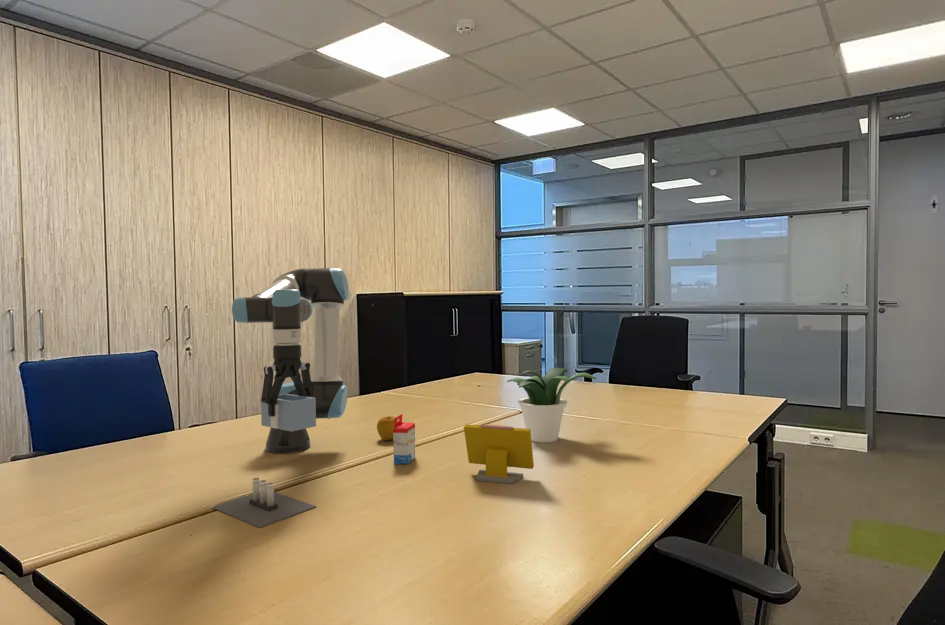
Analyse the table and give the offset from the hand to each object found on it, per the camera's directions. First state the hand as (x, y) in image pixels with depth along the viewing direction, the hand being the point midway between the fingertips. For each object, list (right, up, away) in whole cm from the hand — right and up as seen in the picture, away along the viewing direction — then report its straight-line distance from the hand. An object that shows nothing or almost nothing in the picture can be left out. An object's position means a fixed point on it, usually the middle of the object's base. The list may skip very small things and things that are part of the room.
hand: (288, 424), depth 160 cm
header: (-2, -19, -14) cm, 23 cm away
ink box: (+30, -17, +26) cm, 43 cm away
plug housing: (0, 0, 0) cm, 0 cm away
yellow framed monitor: (+59, -17, +8) cm, 62 cm away
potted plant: (+81, -16, +53) cm, 98 cm away
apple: (+20, -16, +54) cm, 60 cm away
